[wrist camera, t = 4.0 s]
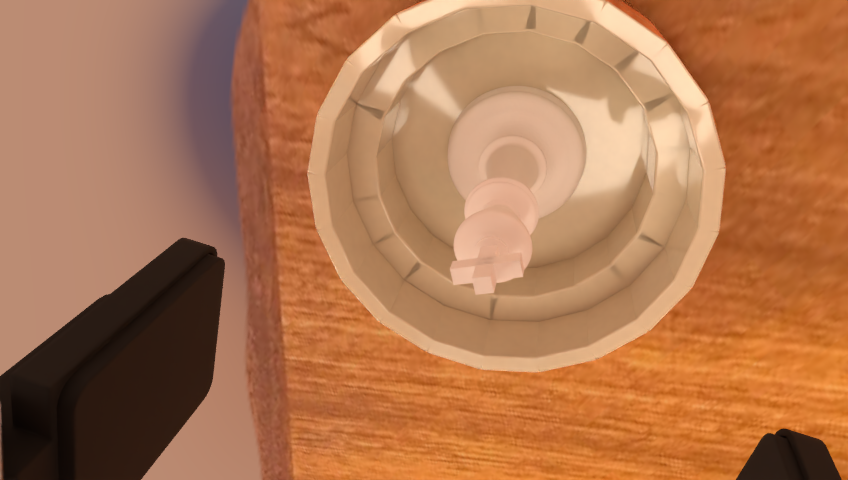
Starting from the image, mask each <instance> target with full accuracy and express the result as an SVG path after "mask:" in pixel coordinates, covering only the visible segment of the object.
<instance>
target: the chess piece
mask: <svg viewBox="0 0 848 480" xmlns="http://www.w3.org/2000/svg"><path fill="white" fill-rule="evenodd" d="M447 156H448V167H449V172H450V176H451V178H452V181H453V183H454V185H455V187H456V189H457V191H458V192H459V193H460V195H461V196H462V197H463V199H464V200H465V201H466V202H465V208H464V214H465V220H464V221H463V222H462V224H461V225H460V226H459V228H458V230H457V232H456V234H455V238H454V253H455V256H456V259H457V261H452V264H451V267H450V272H451V276H452V281H453V285H459V284H468V283H473V286H474V290H475V295H479V294H488V293H494V291H495V286H496V283H501V282H506V281H509V280H511V279H513V278H519V277H523V274H524V270H525V268H526V267H527V265H528V264H529V262H530V259H531V255H532V240H531V237H530V235H531V234H532V232H533V231H534V229H535V228H536V225H537V223H538V219H539V218H542V217H544V216H547V215H549V214H550V213H552V212H554V211H555V210H557V209H558V208H560V207H561V206H562V205H563V204H564V203H565V202H566V201H567V200H568V199H569V198H570V197H571V195H572V194H573V193H574V191H575V189H576V188H577V186H578V184H579V182H580V179H581V177H582V175H583V172H584V168H585V163H586V141H585V137H584V133H583V130H582V128H581V125H580V123H579V121H578V120H577V118H576V116H575V115H574V114H573V112H572V111H571V110H570V109H569V108H568V107H567V106H566V105H565V104H564V103H563V102H562V101H561V100H559V99H558V98H556V97H555V96H553V95H551V94H550V93H548V92H545V91H543V90H540V89H537V88H533V87H528V86H506V87H501V88H497V89H494V90H491V91H489V92H486V93H484V94H482V95H481V96H479V97H477V98H476V99H475V100H473V101H472V102H471V103H470V104H469V105H467V107H466V108H465V109H464V110H463V111H462V112H461V114H460V115H459V116H458V118H457V120H456V122H455V123H454V126H453V128H452V131H451V134H450V138H449V143H448V155H447Z"/></svg>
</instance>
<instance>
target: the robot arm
mask: <svg viewBox="0 0 848 480" xmlns="http://www.w3.org/2000/svg"><path fill="white" fill-rule="evenodd" d="M224 269H225V262H224V260H223V259H222V258H219V257H217V251H216V249H215V248H214V247H212V246H209V245H206V244H203V243H200V242H196V241H193V240H190V239H187V238H181V239H179V240H178V241H177V242H175V243H174V244H173V245H171V246H170V247H169V248H168V249H166V250H165V251H164V252H163V253H161V254H160V255H159V256H158V257H156V258H155V259H154V260H153V261H151V262H150V263H149V264H148V265H146V266H145V267H144V268H143V269H141V270H140V271H139V272H137V273H136V274H135V275H134V276H132V277H131V278H130V279H129V280H128V281H126V282H125V283H124V284H122V285H121V286H120V287H119V288H117V289H116V290H115V291H114V292H112V293H111V294H108V295H105V296H103V297H101V298H99V299H98V300H96V301H95V302H94V303H93V304H91V305H90V306H89V307H88V308H86V309H85V310H84V311H83V312H81V313H80V314H79V315H77V316H76V317H75V318H74V319H72V320H71V321H70V322H69V323H67V324H66V325H65V326H63V327H62V328H61V329H60V330H58V331H57V332H56V333H55V334H53V335H52V336H51V337H49V338H48V339H47V340H46V341H44V342H43V343H42V344H41V345H39V346H38V347H37V348H35V349H34V350H33V351H32V352H30V353H29V354H28V355H27V356H25V357H24V358H23V359H22V360H20V361H19V362H18V363H16V364H15V365H14V366H13V367H11V368H10V369H9V370H8V371H6V372H5V373H4V374H2V375H1V376H0V480H141V479H142V478H143V476H144V475H145V474H146V472H147V471H148V470H149V469H150V467H151V466H152V465H153V464H154V462H155V461H156V460H157V458H158V457H159V456H160V455H161V453H162V452H163V451H164V450H165V448H166V447H167V446H168V444H169V443H170V442H171V441H172V439H173V438H174V437H175V436H176V434H177V433H178V432H179V431H180V429H181V428H182V427H183V425H184V424H185V423H186V422H187V420H188V419H189V418H190V416H191V415H192V414H193V413H194V411H195V410H196V409H197V407H198V406H199V405H200V404H201V402H202V401H203V400H204V398H205V397H206V395H207V393H208V392H209V389H210V387H211V383H212V379H213V371H214V362H215V353H216V344H217V334H218V325H219V316H220V307H221V297H222V288H223V287H222V286H223V278H224ZM736 480H841V477H840V475H839V473H838V471H837V469H836V467H835V464H834V462H833V460H832V458H831V456H830V454H829V451H828V449H827V447H826V445H825V444H824V443H823V441H821V440H819V439H816V438H813V437H810V436H807V435H804V434H801V433H798V432H794V431H791V430H788V429H780V430H779V431H777V432H776V433H775V435H774V434H771V433H767V434H766V435H764V436H763V438H762V439H761V440H760V442H759V444H758V445H757V447H756V448H755V450H754V452H753V453H752V455H751V456H750V458H749V460H748V461H747V463H746V464H745V466H744V468H743V469H742V471H741V472H740V474H739V476H738V477H737V479H736Z"/></svg>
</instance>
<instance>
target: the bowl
mask: <svg viewBox="0 0 848 480" xmlns="http://www.w3.org/2000/svg"><path fill="white" fill-rule="evenodd" d="M506 86H528V87H533V88H537V89H540V90H543V91H545V92H548V93H550V94H551V95H553V96H555V97H556V98H558V99H559V100H561V101H562V102H563V103H564V104H565V105H566V106H567V107H568V108H569V109H570V110H571V111H572V112H573V114H574V115H575V116H576V118H577V120H578V121H579V123H580V125H581V128H582V130H583V133H584V137H585V141H586V163H585V168H584V172H583V175H582V177H581V179H580V182H579V184H578V186H577V188H576V189H575V191H574V193H573V194H572V195H571V197H570V198H569V199H568V200H567V201H566V202H565V203H564V204H563V205H562V206H561V207H560V208H558V209H557V210H555V211H554V212H552V213H550V214H549V215H547V216H544V217H542V218H539V219H538V223H537V225H536V228H535V229H534V231H533V232H532V234H531V235H530V237H531V240H532V255H531V259H530V262H529V264H528V265H527V267H526V268H525V270H524V274H523V277H519V278H513V279H511V280H509V281H506V282H501V283H496V286H495V291H494V293H488V294H479V295H475V290H474V286H473V283H468V284H459V285H453V281H452V276H451V272H450V267H451V264H452V261H457V259H456V256H455V253H454V238H455V234H456V232H457V230H458V228H459V226H460V225H461V224H462V222H463V221H464V220H465V214H464V208H465V202H466V201H465V200H464V199H463V197H462V196H461V195H460V193H459V192H458V191H457V189H456V187H455V185H454V183H453V181H452V178H451V176H450V172H449V167H448V156H447V155H448V143H449V138H450V134H451V131H452V128H453V126H454V123H455V122H456V120H457V118H458V116H459V115H460V114H461V112H462V111H463V110H464V109H465V108H466V107H467V105H469V104H470V103H471V102H472V101H473V100H475V99H476V98H477V97H479V96H481V95H482V94H484V93H486V92H489V91H491V90H494V89H497V88H501V87H506ZM725 165H726V164H725V160H724V156H723V152H722V148H721V144H720V141H719V137H718V133H717V129H716V125H715V121H714V117H713V114H712V110H711V106H710V103H709V102H708V98H707V97H706V96H705V94H704V93H703V91H702V90H701V89H700V87H699V86H698V84H697V83H696V81H695V80H694V79H693V77H692V76H691V74H690V73H689V72H688V70H687V69H686V67H685V66H684V64H683V63H682V62H681V60H680V59H679V57H678V56H677V55H676V53H675V52H674V50H673V49H672V47H671V46H670V45H669V43H668V42H667V41H666V40H665V38H664V37H663V36H662V35H661V33H660V32H659V31H658V30H657V28H656V27H655V26H654V25H653V23H652V22H650V20H649V19H647V18H646V17H645V16H643V15H642V14H640V13H639V12H637V11H636V10H634V9H633V8H632V7H630V6H629V5H627V4H626V3H624V2H623V1H622V0H422V1H420V2H418V3H416V4H414V5H412V6H410V7H408V8H406V9H404V10H402V11H400V12H398V13H397V14H395V15H394V16H392V17H391V18H390V19H389V20H388V21H387V22H386V23H385V24H384V25H383V26H381V27H380V28H379V29H378V30H377V31H376V32H375V33H374V34H373V35H372V36H371V37H369V38H368V39H367V40H366V41H365V42H364V43H363V44H362V45H361V46H360V47H358V48H357V49H356V50H355V51H354V52H353V53H352V54H351V55H350V56H349V57H348V58H347V60H346V61H345V62H344V64H343V66H342V68H341V70H340V72H339V73H338V75H337V77H336V79H335V81H334V83H333V85H332V86H331V88H330V90H329V92H328V94H327V96H326V98H325V99H324V101H323V103H322V105H321V107H320V109H319V111H318V114H317V116H316V122H315V128H314V134H313V140H312V147H311V153H310V159H309V165H308V174H307V175H308V181H309V188H310V194H311V200H312V207H313V213H314V220H315V226H316V229H317V232H318V234H319V236H320V238H321V240H322V242H323V244H324V246H325V248H326V250H327V253H328V255H329V257H330V259H331V261H332V263H333V265H334V267H335V269H336V271H337V273H338V275H339V277H340V279H342V282H343V283H344V284H345V285H346V286H347V288H348V289H349V290H350V291H351V292H352V293H353V294H354V295H355V296H356V297H357V299H358V300H359V301H360V302H361V303H362V304H363V305H364V306H365V307H366V308H367V310H368V311H369V312H370V313H371V314H372V315H373V316H374V317H375V318H376V319H377V321H380V323H381V324H383V325H385V326H386V327H388V328H389V329H391V330H392V331H394V332H396V333H397V334H399V335H400V336H402V337H403V338H405V339H407V340H408V341H410V342H411V343H413V344H414V345H416V346H418V347H419V348H421V349H422V350H424V351H427V352H428V353H430V354H433V355H436V356H439V357H443V358H446V359H449V360H452V361H455V362H458V363H462V364H465V365H468V366H471V367H474V368H477V369H482V370H497V371H517V372H543V371H548V370H552V369H557V368H561V367H566V366H571V365H575V364H580V363H584V362H589V361H594V360H595V359H599V358H601V357H603V356H605V355H606V354H608V353H610V352H612V351H614V350H616V349H618V348H619V347H621V346H623V345H625V344H627V343H629V342H631V341H632V340H634V339H636V338H638V337H640V336H642V335H644V334H645V333H647V332H648V331H650V330H651V329H652V328H653V327H654V326H655V325H656V324H657V323H658V322H659V321H660V320H661V319H662V318H663V317H664V316H665V315H666V314H667V313H668V312H669V311H670V310H671V309H672V308H673V307H674V306H675V305H676V304H677V303H678V302H679V301H680V300H681V299H682V298H683V297H684V296H685V295H686V294H687V293H688V292H689V291H690V290H691V288H692V287H693V285H694V283H695V281H696V279H697V277H698V275H699V273H700V271H701V269H702V267H703V265H704V263H705V261H706V259H707V257H708V255H709V253H710V250H711V248H712V246H713V244H714V242H715V240H716V238H717V236H718V234H719V229H720V222H721V212H722V203H723V194H724V184H725V175H726V168H725Z"/></svg>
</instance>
